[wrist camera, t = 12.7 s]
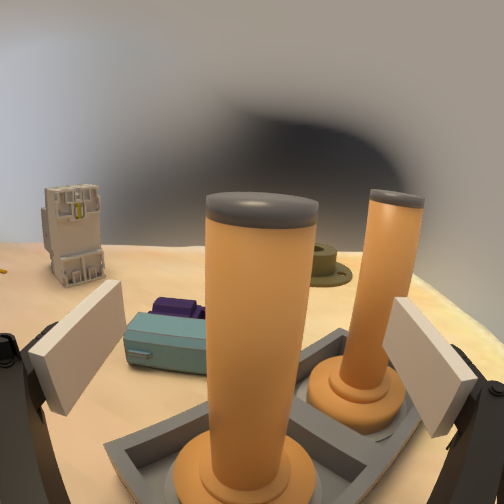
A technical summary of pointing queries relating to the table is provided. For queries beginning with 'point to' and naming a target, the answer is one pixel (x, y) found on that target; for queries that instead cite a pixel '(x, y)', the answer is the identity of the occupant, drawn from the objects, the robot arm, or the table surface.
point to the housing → (299, 429)
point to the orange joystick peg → (252, 352)
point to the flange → (328, 268)
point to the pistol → (169, 337)
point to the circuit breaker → (73, 233)
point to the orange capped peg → (372, 321)
